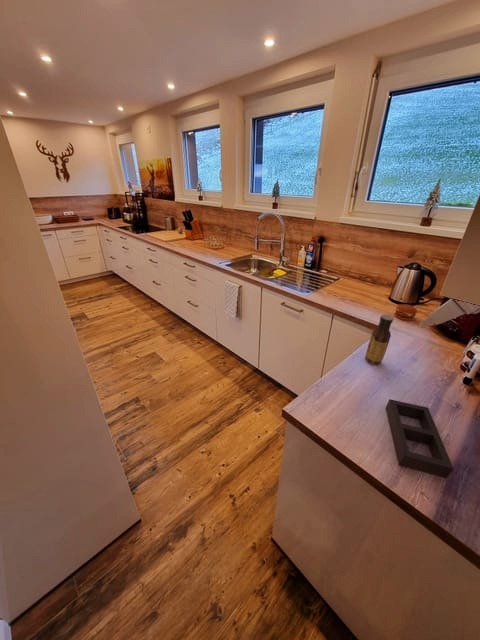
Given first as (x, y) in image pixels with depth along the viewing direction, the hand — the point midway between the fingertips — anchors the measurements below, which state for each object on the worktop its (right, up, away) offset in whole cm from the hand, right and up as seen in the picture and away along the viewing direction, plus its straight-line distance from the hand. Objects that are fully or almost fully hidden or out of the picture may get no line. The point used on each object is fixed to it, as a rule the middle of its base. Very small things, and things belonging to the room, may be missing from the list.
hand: (424, 323), depth 87 cm
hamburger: (+25, +2, +52) cm, 58 cm away
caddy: (-13, -32, -13) cm, 37 cm away
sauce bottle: (-8, -15, +17) cm, 25 cm away
